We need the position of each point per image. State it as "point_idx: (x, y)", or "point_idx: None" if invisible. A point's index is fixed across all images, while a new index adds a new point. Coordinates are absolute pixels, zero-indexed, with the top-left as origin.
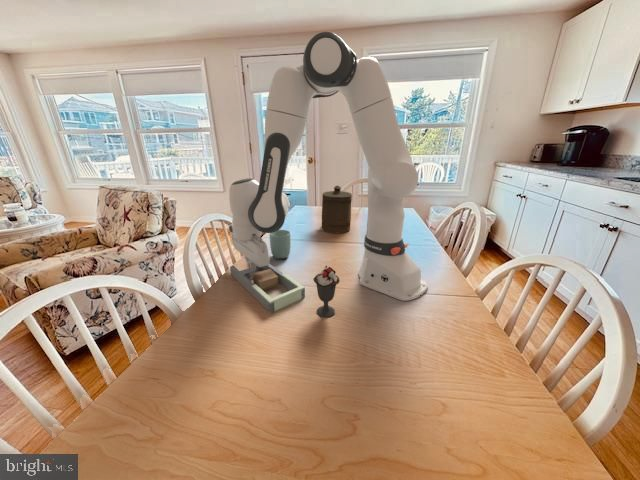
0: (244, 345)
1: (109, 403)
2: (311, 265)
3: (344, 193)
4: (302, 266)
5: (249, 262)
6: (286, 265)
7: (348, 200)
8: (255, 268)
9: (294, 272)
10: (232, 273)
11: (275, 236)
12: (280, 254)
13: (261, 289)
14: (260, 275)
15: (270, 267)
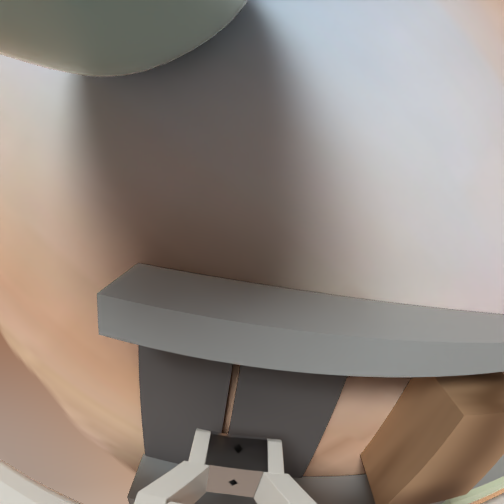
0: (489, 499)
1: None
2: (481, 8)
3: None
4: (464, 42)
5: (202, 487)
6: (363, 91)
7: None
8: (279, 445)
9: (495, 162)
10: None
11: None
12: (222, 16)
13: (490, 488)
14: (441, 485)
15: (426, 376)
